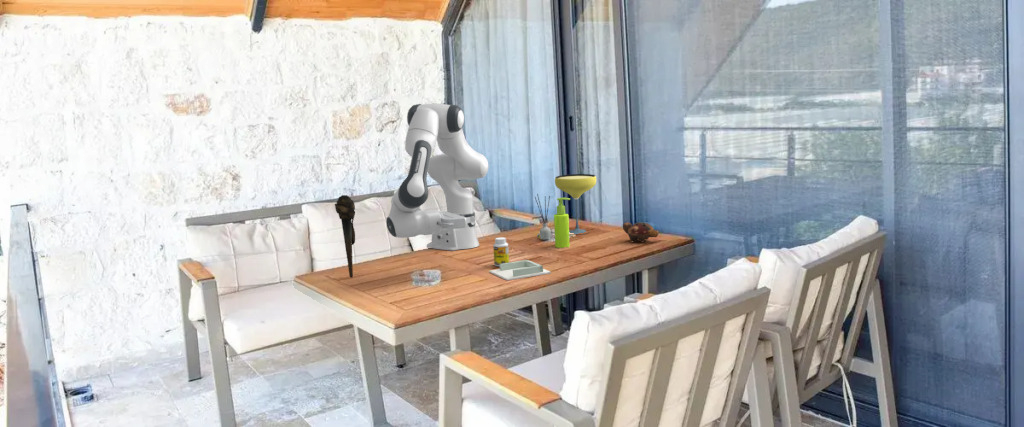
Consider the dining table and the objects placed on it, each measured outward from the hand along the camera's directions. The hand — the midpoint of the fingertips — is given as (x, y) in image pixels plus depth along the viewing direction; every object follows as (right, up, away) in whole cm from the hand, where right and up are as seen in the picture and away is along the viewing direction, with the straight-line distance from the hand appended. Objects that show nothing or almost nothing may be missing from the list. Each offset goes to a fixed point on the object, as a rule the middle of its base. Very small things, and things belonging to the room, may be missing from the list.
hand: (468, 217), depth 290 cm
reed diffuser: (+29, -10, +52) cm, 60 cm away
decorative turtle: (+68, -10, +39) cm, 80 cm away
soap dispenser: (+37, -12, +37) cm, 53 cm away
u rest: (+18, -20, -5) cm, 27 cm away
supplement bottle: (+12, -18, +9) cm, 23 cm away
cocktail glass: (+45, -7, +65) cm, 79 cm away
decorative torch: (-43, -22, +1) cm, 48 cm away
